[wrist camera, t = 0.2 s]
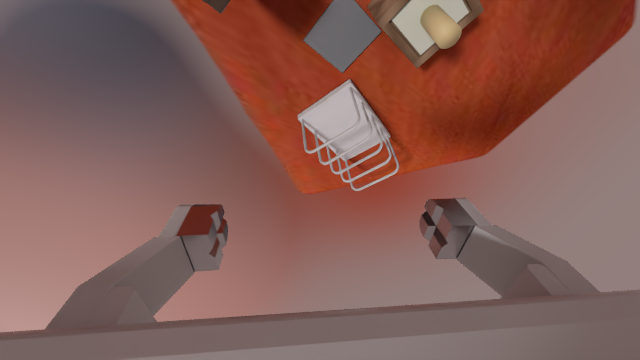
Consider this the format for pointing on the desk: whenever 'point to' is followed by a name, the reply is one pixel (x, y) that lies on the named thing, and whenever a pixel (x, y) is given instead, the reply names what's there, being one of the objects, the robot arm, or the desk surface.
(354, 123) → the file sorter
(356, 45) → the mat
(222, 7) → the coffee box
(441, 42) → the lid
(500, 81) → the desk surface
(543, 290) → the robot arm
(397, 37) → the box
